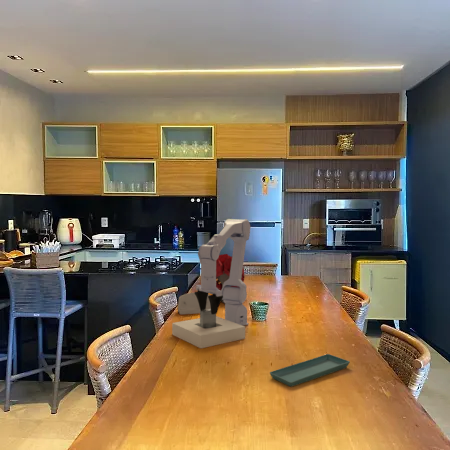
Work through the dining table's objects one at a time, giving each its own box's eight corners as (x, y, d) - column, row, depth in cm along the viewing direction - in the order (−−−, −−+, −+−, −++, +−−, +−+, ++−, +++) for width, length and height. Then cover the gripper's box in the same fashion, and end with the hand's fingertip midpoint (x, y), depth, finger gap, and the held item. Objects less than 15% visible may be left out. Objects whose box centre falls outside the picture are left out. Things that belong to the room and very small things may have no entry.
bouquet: (248, 313, 234) (243, 276, 259) (247, 278, 221) (242, 243, 246) (206, 316, 234) (205, 279, 259) (203, 281, 221) (202, 245, 246)
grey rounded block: (179, 314, 205) (177, 292, 208) (177, 315, 210) (176, 294, 213) (214, 312, 210) (213, 290, 213) (212, 313, 214) (210, 292, 217)
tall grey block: (219, 336, 172) (219, 310, 171) (205, 339, 168) (206, 312, 168) (210, 332, 177) (210, 307, 176) (197, 335, 173) (197, 309, 173)
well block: (245, 338, 170) (245, 326, 170) (200, 348, 159) (200, 335, 158) (214, 326, 187) (214, 315, 186) (172, 334, 175) (172, 323, 174)
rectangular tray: (290, 389, 126) (290, 381, 126) (268, 379, 133) (268, 371, 133) (350, 369, 141) (350, 361, 141) (327, 360, 149) (327, 353, 148)
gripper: (189, 274, 175) (189, 309, 176) (210, 280, 163) (210, 317, 164) (204, 273, 179) (204, 306, 180) (226, 278, 167) (226, 314, 168)
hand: (208, 311), depth 172 cm, fingers open, 7 cm apart
